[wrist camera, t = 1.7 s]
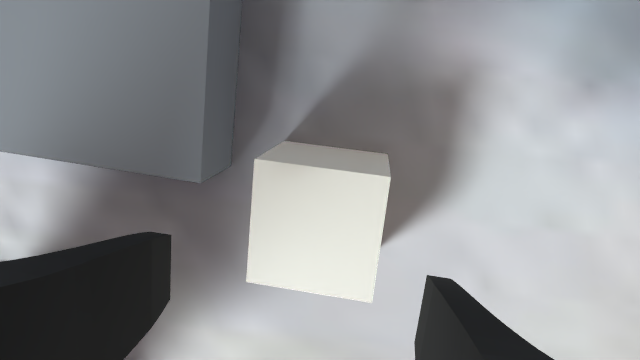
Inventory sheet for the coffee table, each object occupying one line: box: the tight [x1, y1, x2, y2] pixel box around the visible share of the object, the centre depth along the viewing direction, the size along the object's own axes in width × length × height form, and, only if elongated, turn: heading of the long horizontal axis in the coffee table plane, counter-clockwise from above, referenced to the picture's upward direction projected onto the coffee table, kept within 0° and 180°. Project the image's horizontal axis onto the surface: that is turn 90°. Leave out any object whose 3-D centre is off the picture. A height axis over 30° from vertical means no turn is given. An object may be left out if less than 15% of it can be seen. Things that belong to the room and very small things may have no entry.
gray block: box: [0, 0, 242, 183], centre depth 18 cm, size 10×10×4 cm
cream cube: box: [246, 141, 391, 303], centre depth 18 cm, size 5×5×5 cm
